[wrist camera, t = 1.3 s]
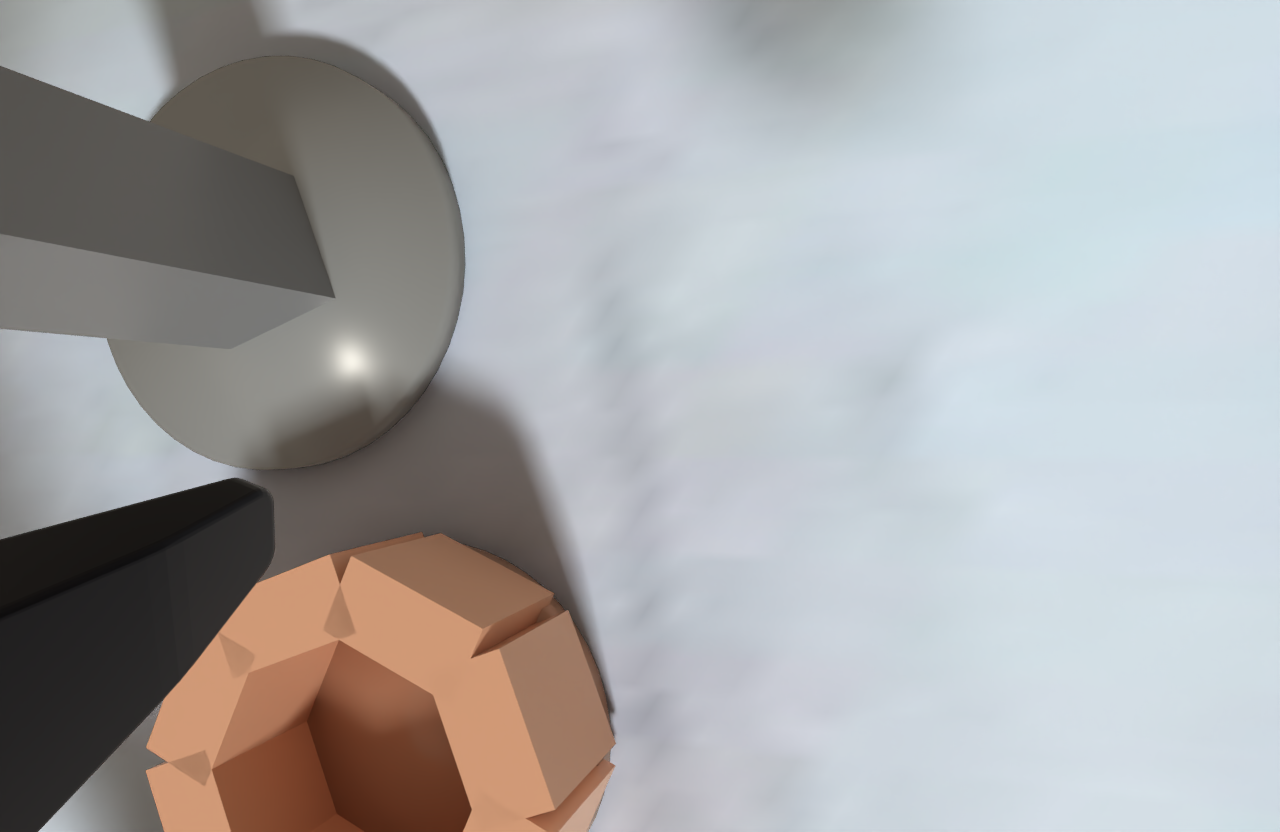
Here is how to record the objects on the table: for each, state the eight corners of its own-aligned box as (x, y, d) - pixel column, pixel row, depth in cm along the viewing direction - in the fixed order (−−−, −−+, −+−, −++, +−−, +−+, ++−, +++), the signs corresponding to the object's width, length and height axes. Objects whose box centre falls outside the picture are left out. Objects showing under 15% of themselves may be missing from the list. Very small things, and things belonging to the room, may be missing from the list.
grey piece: (192, 522, 27) (-266, 592, 17) (81, 173, 28) (-415, 32, 18) (523, 380, 24) (221, 357, 14) (386, -4, 26) (8, -296, 15)
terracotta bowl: (345, 943, 26) (230, 1049, 22) (237, 605, 27) (106, 642, 22) (665, 859, 23) (607, 961, 19) (533, 489, 24) (449, 506, 20)
